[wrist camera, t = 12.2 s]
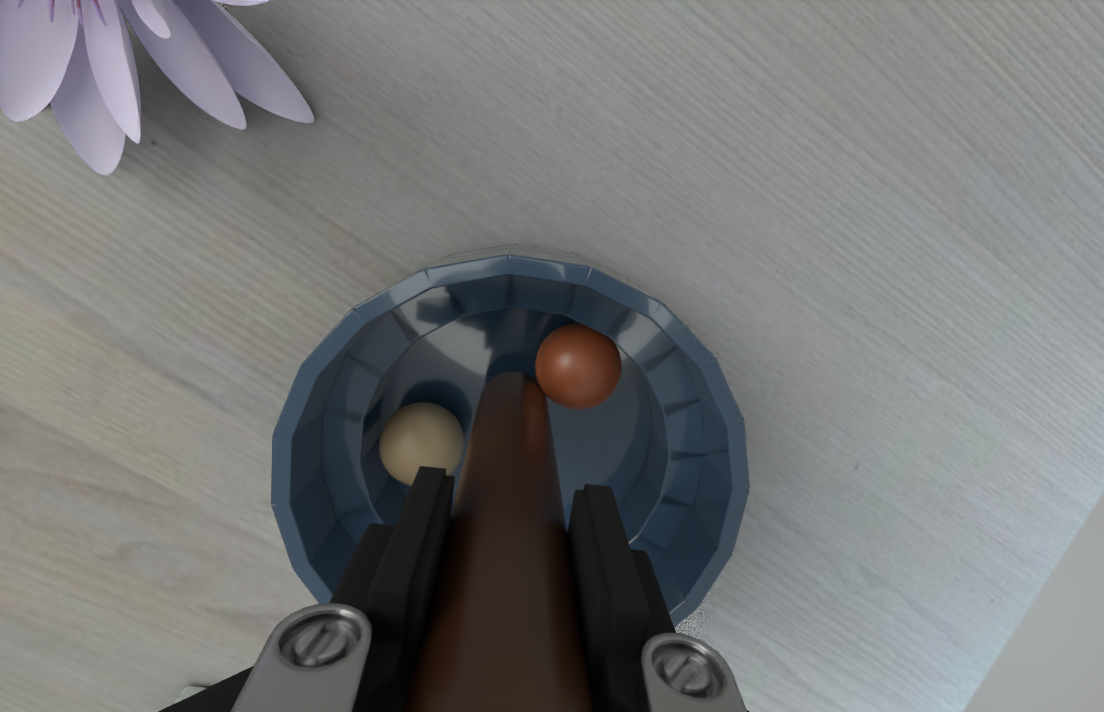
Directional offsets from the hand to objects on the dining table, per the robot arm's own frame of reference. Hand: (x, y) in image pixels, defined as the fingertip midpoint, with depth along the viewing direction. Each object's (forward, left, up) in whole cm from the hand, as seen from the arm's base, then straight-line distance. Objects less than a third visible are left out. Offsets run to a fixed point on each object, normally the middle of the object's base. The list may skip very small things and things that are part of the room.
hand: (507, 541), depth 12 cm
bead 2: (-2, -2, -9) cm, 10 cm away
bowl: (0, +2, -12) cm, 12 cm away
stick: (0, 0, -10) cm, 10 cm away
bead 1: (+3, +2, -9) cm, 10 cm away
